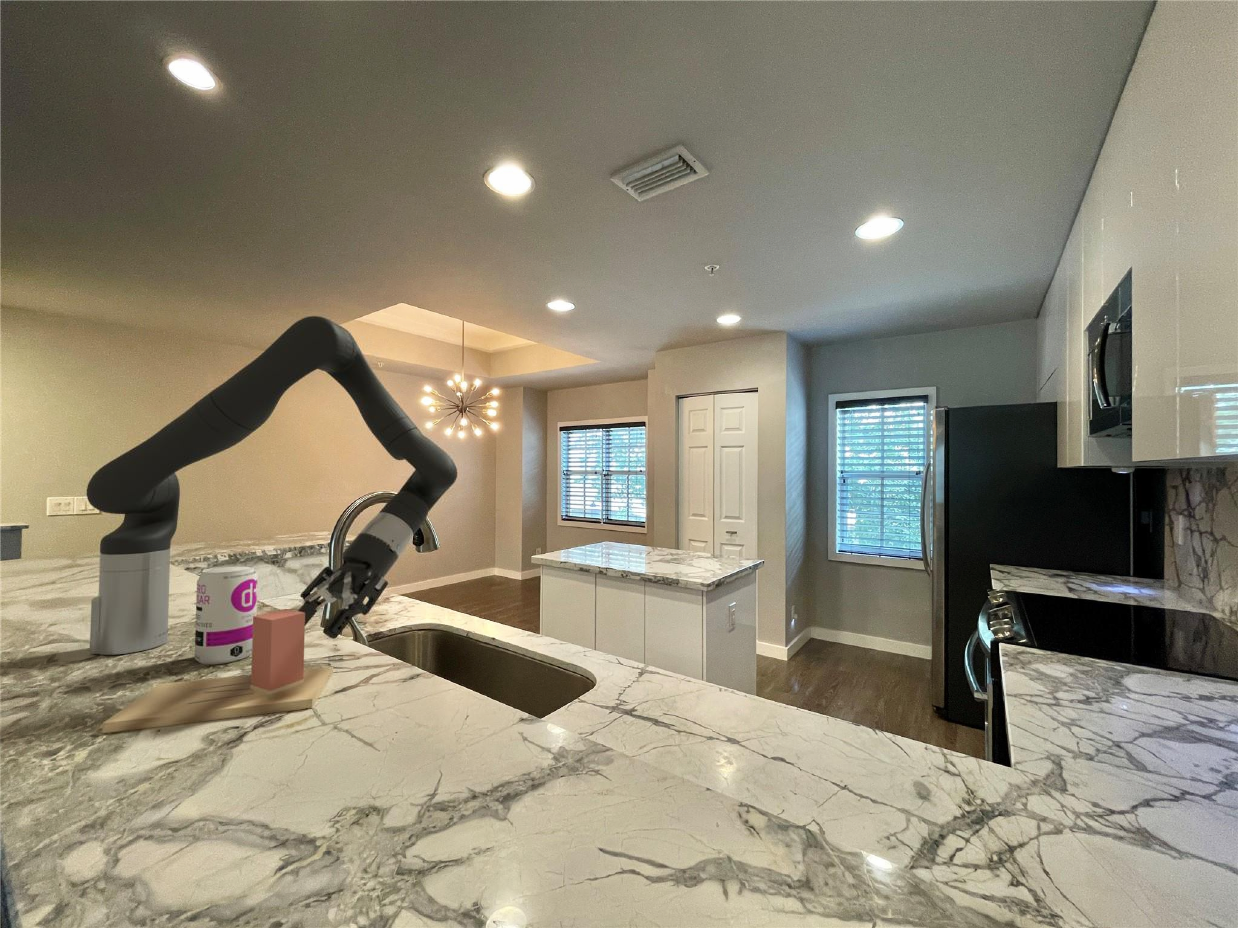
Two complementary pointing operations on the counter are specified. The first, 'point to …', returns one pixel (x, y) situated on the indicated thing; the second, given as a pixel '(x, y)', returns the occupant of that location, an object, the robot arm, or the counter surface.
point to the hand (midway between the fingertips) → (310, 631)
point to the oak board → (214, 701)
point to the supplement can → (225, 614)
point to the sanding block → (277, 651)
